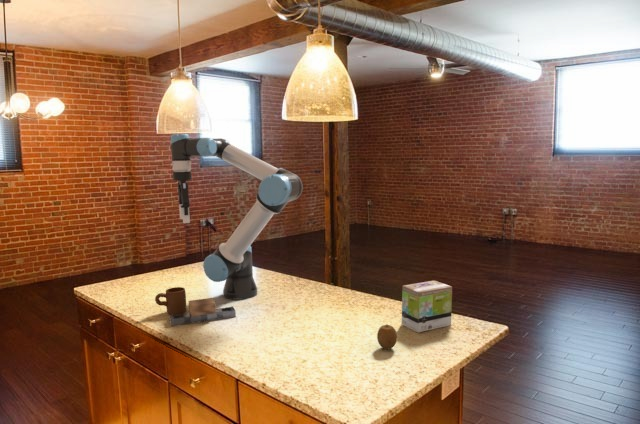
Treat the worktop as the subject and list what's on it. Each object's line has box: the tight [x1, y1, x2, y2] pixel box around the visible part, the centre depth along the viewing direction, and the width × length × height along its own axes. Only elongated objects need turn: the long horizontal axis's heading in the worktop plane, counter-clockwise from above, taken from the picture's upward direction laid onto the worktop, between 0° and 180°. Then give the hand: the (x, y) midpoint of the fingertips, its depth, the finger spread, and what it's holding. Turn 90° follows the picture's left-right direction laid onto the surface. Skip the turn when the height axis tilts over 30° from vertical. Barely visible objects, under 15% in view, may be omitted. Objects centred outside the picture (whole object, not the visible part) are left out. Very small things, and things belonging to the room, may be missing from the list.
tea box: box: [401, 280, 453, 334], centre depth 168 cm, size 15×10×15 cm, turn 117°
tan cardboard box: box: [188, 297, 217, 317], centre depth 180 cm, size 9×7×7 cm
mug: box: [154, 286, 187, 316], centre depth 187 cm, size 12×8×9 cm, turn 128°
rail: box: [169, 306, 237, 327], centre depth 180 cm, size 24×5×3 cm, turn 112°
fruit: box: [376, 324, 398, 350], centre depth 149 cm, size 6×6×8 cm
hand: (184, 221), depth 201 cm, fingers open, 13 cm apart
